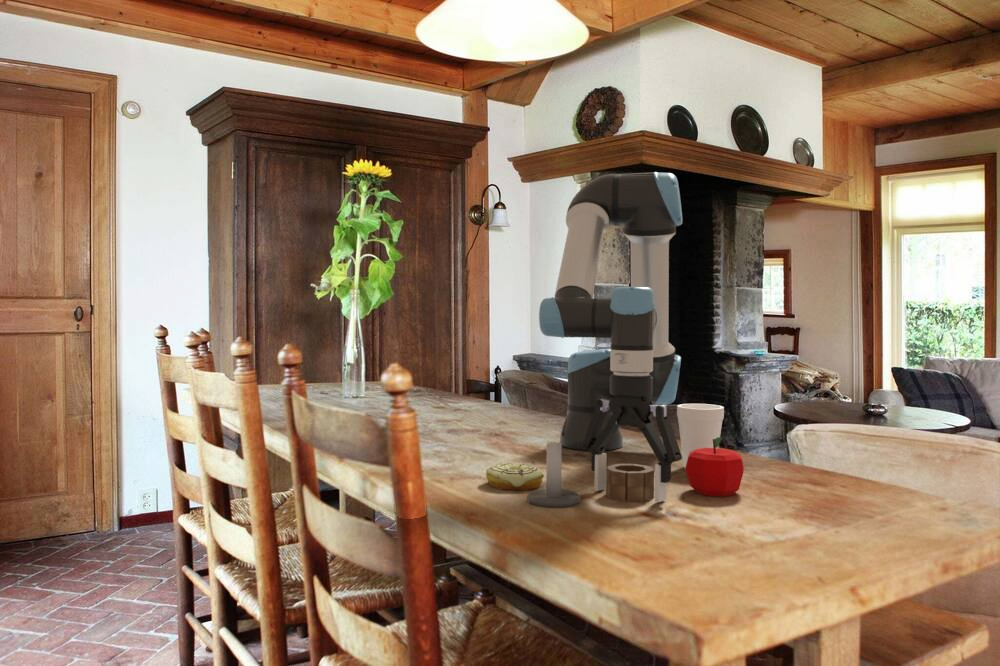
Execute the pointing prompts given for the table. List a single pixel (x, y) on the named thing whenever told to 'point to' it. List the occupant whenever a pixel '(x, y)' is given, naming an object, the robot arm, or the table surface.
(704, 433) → the foam cup
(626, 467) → the ring
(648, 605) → the table surface
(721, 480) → the apple
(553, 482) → the post
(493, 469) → the decorated donut
